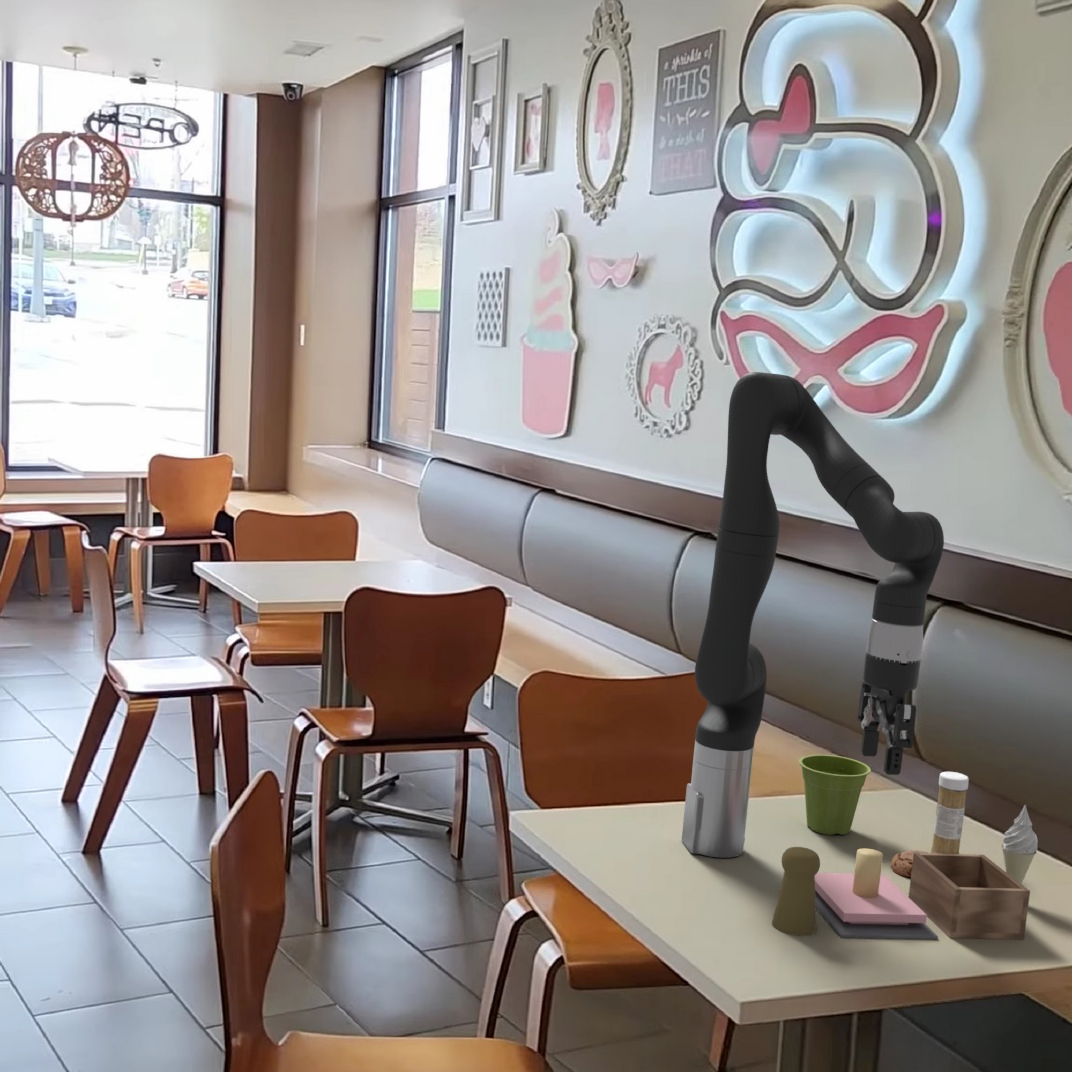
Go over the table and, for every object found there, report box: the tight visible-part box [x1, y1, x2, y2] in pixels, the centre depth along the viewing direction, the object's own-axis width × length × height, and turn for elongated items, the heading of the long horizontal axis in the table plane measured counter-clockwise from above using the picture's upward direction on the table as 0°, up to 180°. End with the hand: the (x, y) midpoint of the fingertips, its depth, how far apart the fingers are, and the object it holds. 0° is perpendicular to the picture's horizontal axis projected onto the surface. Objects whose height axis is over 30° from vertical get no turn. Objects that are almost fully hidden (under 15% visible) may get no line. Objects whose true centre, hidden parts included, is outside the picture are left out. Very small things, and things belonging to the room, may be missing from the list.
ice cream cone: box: [1000, 804, 1039, 885], centre depth 207 cm, size 5×5×15 cm
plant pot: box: [798, 754, 872, 836], centre depth 234 cm, size 12×12×11 cm
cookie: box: [890, 850, 929, 878], centre depth 217 cm, size 10×11×3 cm
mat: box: [815, 890, 939, 940], centre depth 199 cm, size 14×19×1 cm
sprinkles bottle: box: [930, 771, 970, 854], centre depth 225 cm, size 5×5×14 cm
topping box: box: [908, 852, 1031, 940], centre depth 199 cm, size 11×14×7 cm
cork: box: [771, 846, 821, 936], centre depth 191 cm, size 6×6×11 cm
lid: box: [815, 847, 928, 925], centre depth 199 cm, size 12×15×8 cm
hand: (879, 764), depth 196 cm, fingers open, 8 cm apart
